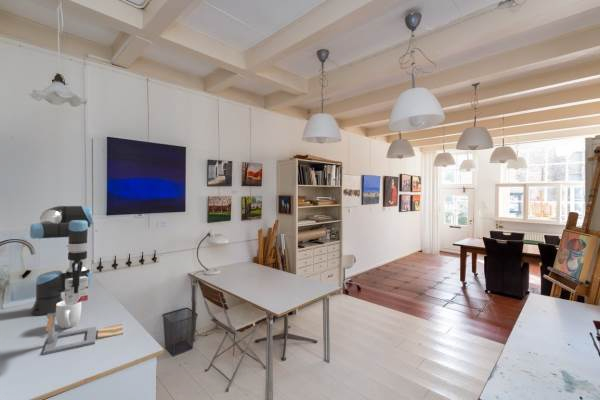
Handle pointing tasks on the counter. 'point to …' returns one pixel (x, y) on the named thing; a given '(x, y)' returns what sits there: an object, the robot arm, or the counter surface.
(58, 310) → the mug
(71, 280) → the ink box
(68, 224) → the robot arm
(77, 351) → the counter surface
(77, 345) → the stand
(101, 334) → the pad
